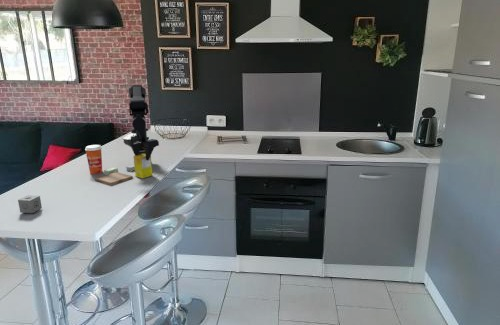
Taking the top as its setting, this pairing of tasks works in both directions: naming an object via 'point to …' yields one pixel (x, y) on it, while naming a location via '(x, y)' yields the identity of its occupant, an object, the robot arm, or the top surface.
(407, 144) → the top surface
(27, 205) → the dice cube
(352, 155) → the top surface
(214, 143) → the top surface
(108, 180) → the walnut board
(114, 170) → the sage brick
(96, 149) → the paper cup
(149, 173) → the supplement box
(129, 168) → the slate brick
